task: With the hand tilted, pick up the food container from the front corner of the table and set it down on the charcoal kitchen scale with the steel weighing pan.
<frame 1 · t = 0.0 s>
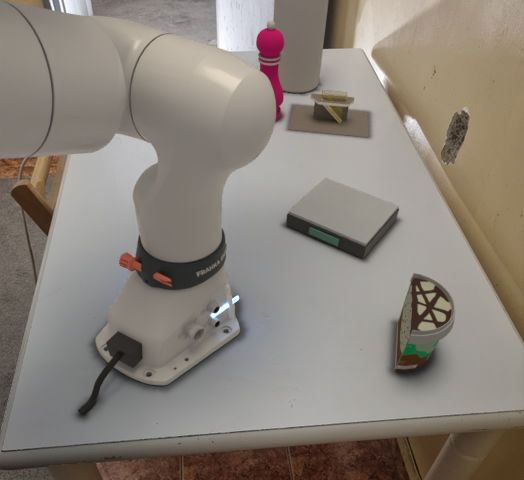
pepper mill: (267, 116, 122), on the table
cylinder vase: (294, 83, 134), on the table
food container: (416, 351, 78), on the table
kitchen scale: (341, 222, 97), on the table
platform: (329, 121, 122), on the table
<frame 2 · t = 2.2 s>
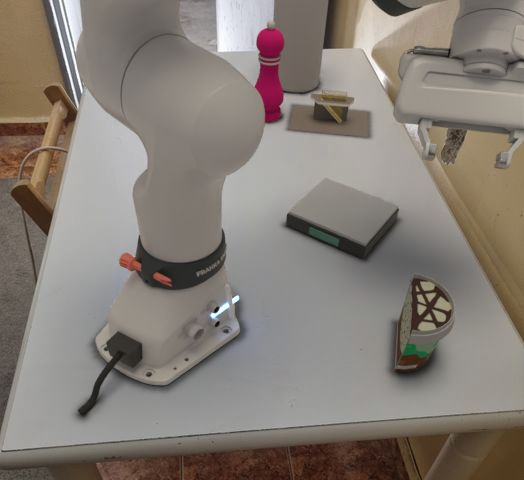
hand: (464, 163, 67), 24 cm above the table, tool tilted 45°, fingers open, 8 cm apart
nothing on the table moved.
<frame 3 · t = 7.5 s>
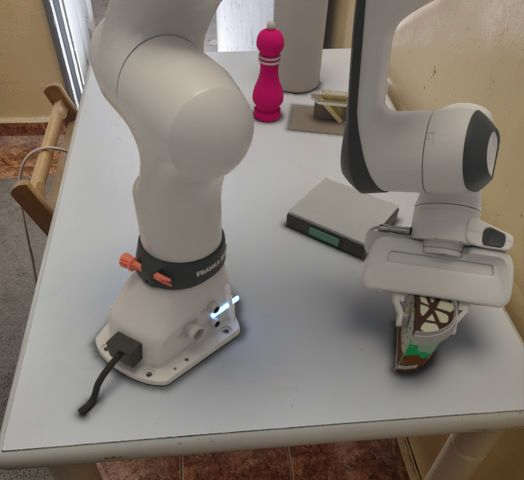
hand: (425, 330, 73), 5 cm above the table, tool tilted 45°, fingers closed on food container, 5 cm apart
food container: (416, 351, 78), on the table, touching gripper
everything else where it was.
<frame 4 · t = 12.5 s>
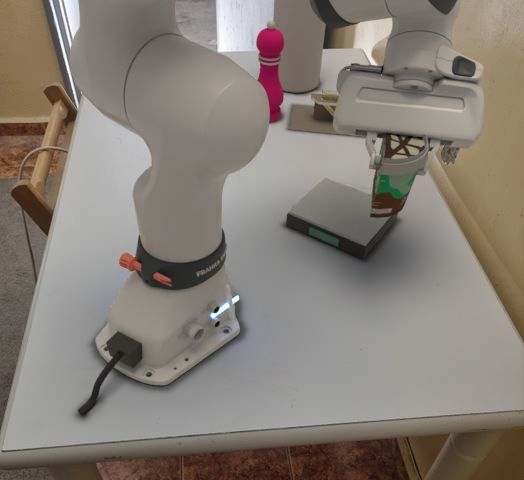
hand: (397, 171, 73), 19 cm above the table, tool tilted 45°, fingers closed on food container, 5 cm apart
food container: (391, 202, 78), point 14 cm above the table, touching gripper
everything else where it was.
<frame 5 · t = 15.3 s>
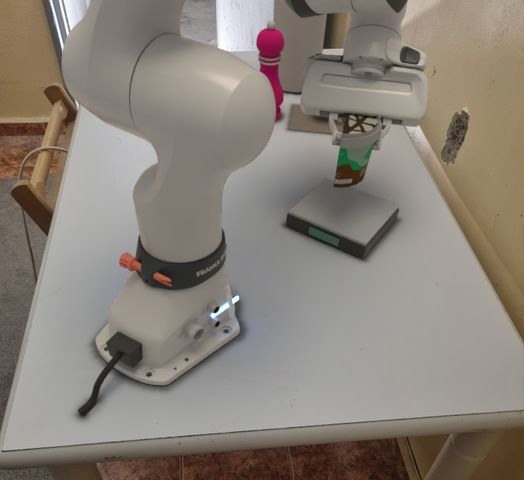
hand: (355, 146, 85), 16 cm above the table, tool tilted 45°, fingers closed on food container, 5 cm apart
food container: (353, 174, 89), point 10 cm above the table, touching gripper
everything else where it was.
when the fingers open (9 cm above the table, at t = 17.7 s): food container stays where it is, resting on kitchen scale.
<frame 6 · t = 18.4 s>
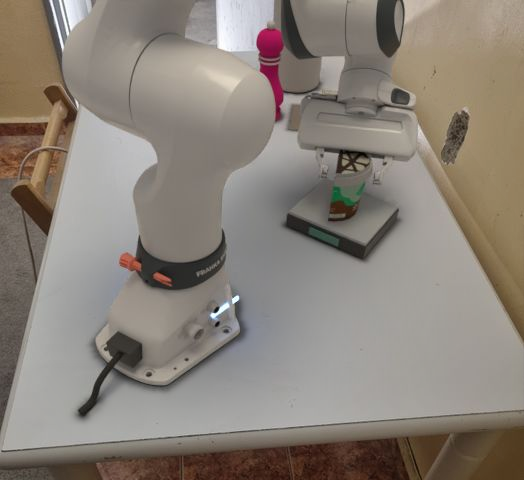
hand: (349, 180, 89), 9 cm above the table, tool tilted 45°, fingers open, 8 cm apart
food container: (346, 208, 95), point 3 cm above the table, touching kitchen scale
everything else where it was.
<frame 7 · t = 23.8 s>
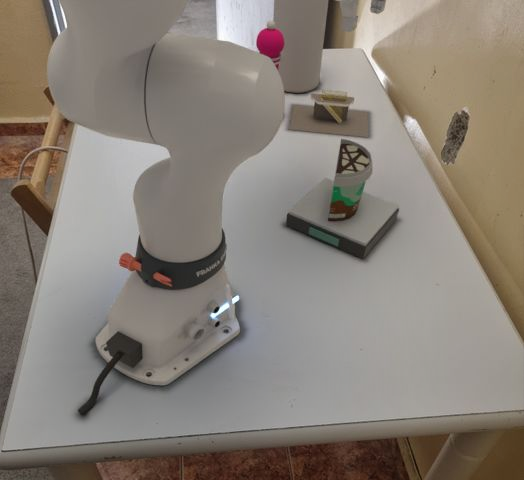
hand: (363, 20, 78), 31 cm above the table, tool pointing down, fingers open, 8 cm apart
nothing on the table moved.
at the end: food container inside the target area on the kitchen scale (0.5 cm from its centre), point 3.0 cm above the kitchen scale's base; food container tilted 0°; the gripper is holding nothing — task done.
